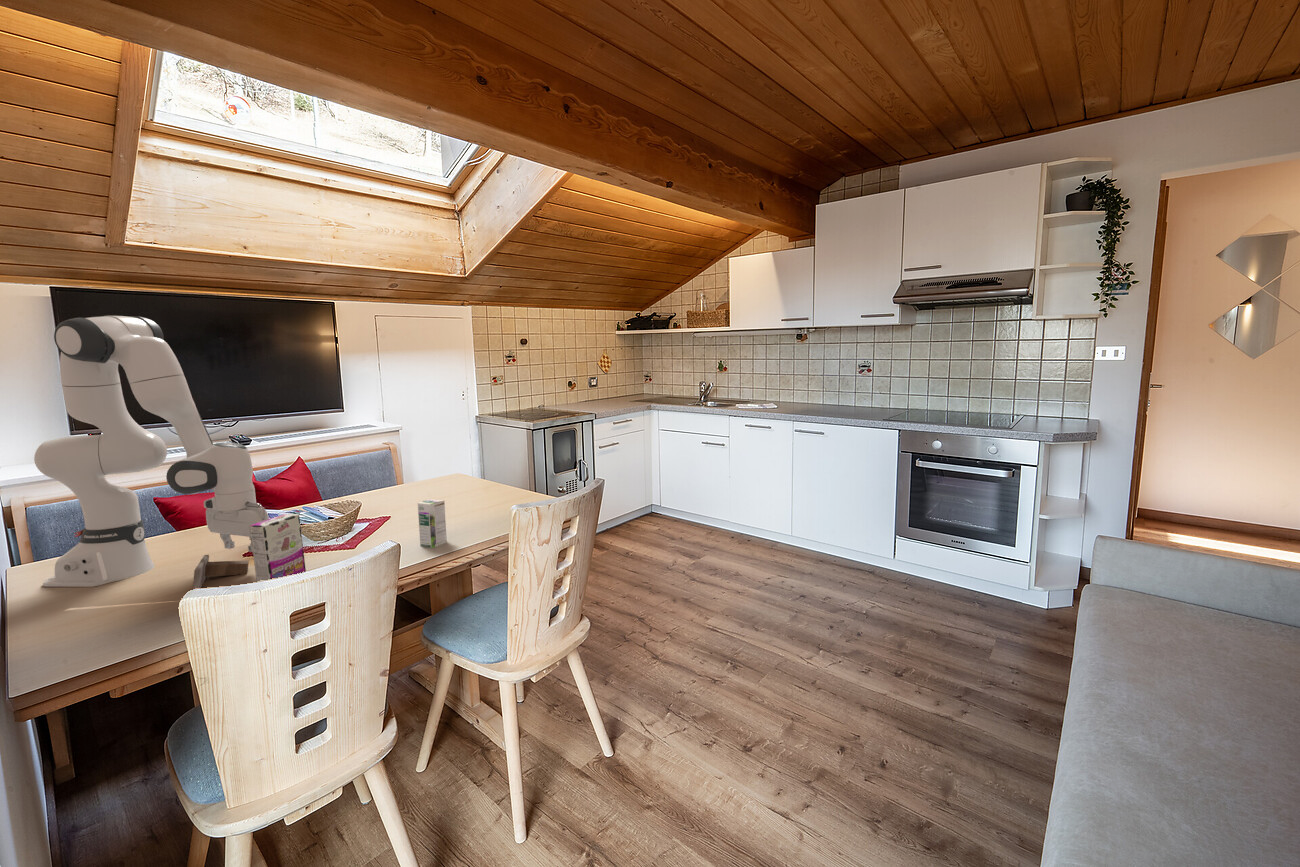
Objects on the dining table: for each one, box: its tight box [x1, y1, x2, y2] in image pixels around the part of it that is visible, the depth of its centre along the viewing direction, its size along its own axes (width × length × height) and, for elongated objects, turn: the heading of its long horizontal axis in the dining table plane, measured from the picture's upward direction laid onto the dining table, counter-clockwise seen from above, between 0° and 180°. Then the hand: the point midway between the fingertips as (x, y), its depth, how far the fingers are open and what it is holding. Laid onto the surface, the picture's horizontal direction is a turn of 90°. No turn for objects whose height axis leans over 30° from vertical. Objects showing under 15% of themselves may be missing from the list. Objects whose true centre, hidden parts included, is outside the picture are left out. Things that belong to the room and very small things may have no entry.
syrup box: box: [417, 498, 448, 549], centre depth 171 cm, size 6×6×14 cm
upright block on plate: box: [192, 554, 249, 590], centre depth 147 cm, size 14×6×10 cm
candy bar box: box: [249, 513, 307, 582], centre depth 147 cm, size 11×5×16 cm, turn 168°
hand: (241, 549), depth 155 cm, fingers open, 8 cm apart
